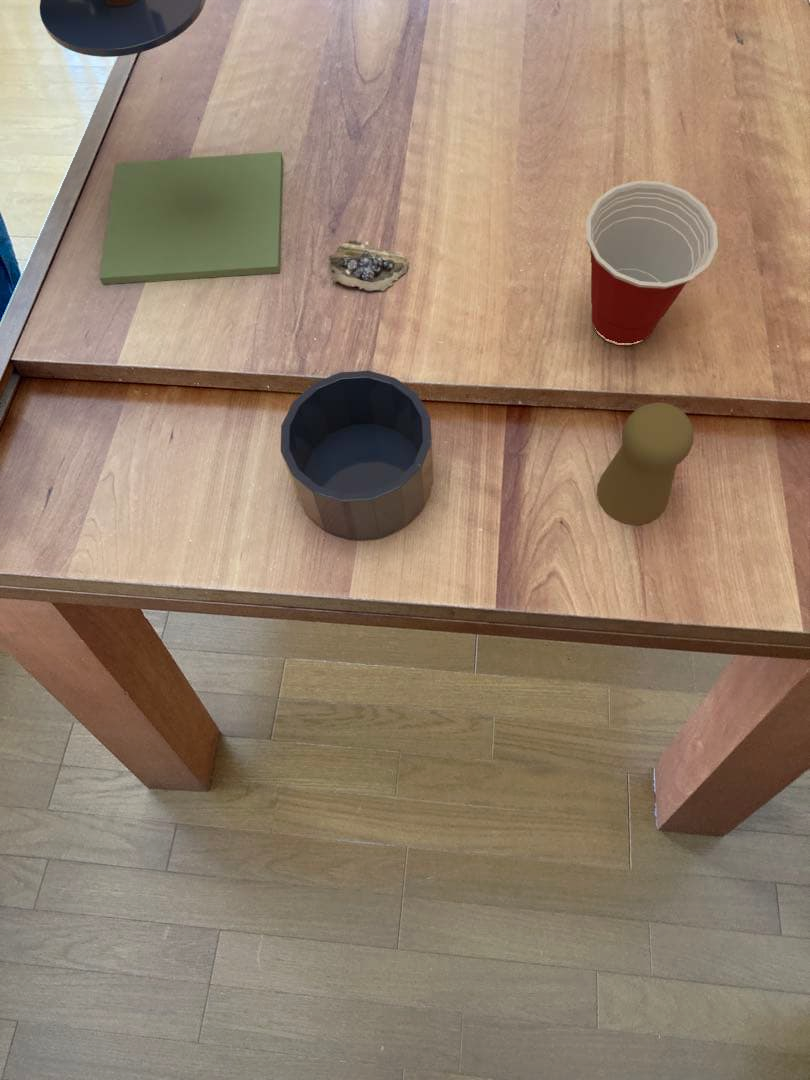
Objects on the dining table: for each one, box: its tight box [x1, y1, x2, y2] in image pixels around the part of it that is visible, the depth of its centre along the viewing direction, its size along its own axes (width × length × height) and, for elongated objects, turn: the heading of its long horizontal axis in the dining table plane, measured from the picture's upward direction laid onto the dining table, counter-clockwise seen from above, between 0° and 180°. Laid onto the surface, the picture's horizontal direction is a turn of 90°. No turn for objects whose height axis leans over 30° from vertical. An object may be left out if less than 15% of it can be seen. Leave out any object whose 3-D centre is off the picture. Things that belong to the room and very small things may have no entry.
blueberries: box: [328, 239, 409, 292], centre depth 81 cm, size 7×8×2 cm
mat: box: [98, 151, 284, 285], centre depth 85 cm, size 18×16×1 cm
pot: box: [280, 370, 434, 541], centre depth 69 cm, size 12×12×8 cm
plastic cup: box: [585, 180, 719, 343], centre depth 72 cm, size 11×11×12 cm
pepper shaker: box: [596, 402, 695, 526], centre depth 65 cm, size 6×6×11 cm
